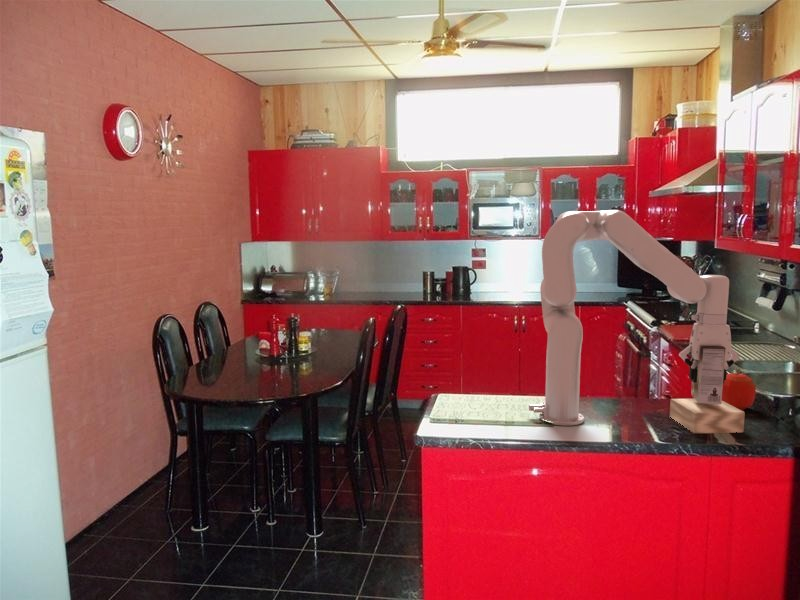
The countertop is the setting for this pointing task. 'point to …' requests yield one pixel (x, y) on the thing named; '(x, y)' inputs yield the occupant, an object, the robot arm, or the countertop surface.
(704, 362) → the coffee box
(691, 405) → the beech block
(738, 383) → the apple
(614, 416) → the countertop surface
